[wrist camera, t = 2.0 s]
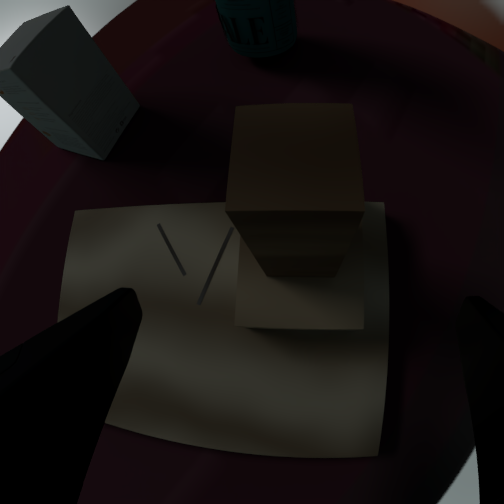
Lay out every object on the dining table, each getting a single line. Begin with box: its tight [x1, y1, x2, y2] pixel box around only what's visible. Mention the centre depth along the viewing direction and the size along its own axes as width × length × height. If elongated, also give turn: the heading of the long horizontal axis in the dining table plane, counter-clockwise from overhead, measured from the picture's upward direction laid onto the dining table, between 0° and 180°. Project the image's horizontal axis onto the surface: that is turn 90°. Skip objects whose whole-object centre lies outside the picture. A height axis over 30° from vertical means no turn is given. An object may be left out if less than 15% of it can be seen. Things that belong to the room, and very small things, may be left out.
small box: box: [0, 6, 140, 160], centre depth 20 cm, size 8×6×13 cm
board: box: [58, 202, 389, 458], centre depth 18 cm, size 15×22×2 cm
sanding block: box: [225, 103, 365, 330], centre depth 13 cm, size 8×6×11 cm
